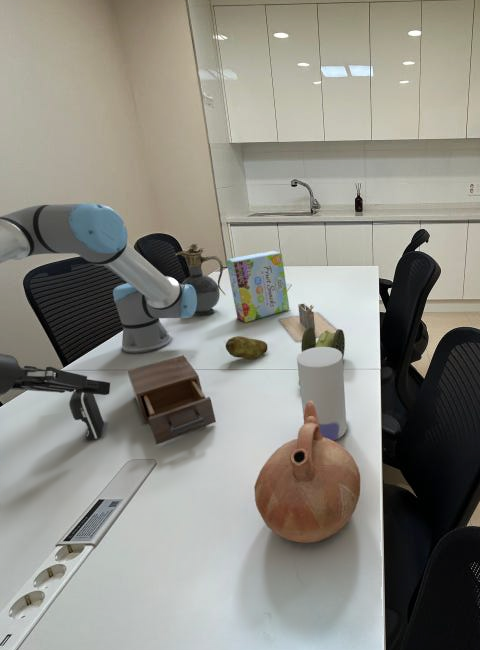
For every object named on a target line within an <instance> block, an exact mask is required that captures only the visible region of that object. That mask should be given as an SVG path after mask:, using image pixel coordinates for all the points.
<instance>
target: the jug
mask: <svg viewBox="0 0 480 650" xmlns="http://www.w3.org/2000/svg"><path fill="white" fill-rule="evenodd" d="M255 480H256V481H255V484H254V486H253V487H254V490H253V491H254V501H255V506H256V509H257V511H258V513H259V515H260V517H261V518H262V521H263V522H264V524H265V526H267V527H268V528H269V530H270V531H271V532H273V534H275V535H278V536H279V537H281V538H283V539H285V540H287V541H292V542H296V543H300V544H303V543H304V544H315V543H318V542H319V543H320V542H322V541H324V540H326V539H329V538H330V537H332V536H333V535H335V534H336V533H338V532H339V531H340V530H342V529H343V528H344V527H345V526H346V524H347V523H348V522H349V521H350V520H351V518H352V516H353V515H354V513H355V511H356V508H357V507H358V502H359V499H360V494H361V474H360V469H359V467H358V465H357V463H356V461H355V458H354V457H353V456H352V454H351V453H349V451H348V450H347V449H346V448H345V447H344V446H342V445H341V444H339V443H338V442H336V441H335V440H334V441H332V440H330V439H327V438H324V437H322V435H321V433H320V426H319V422H318V418H317V413H316V410H315V406H314V403H313V401H308V402H307V404H306V407H305V412H304V417H303V425H302V426H300V428H299V429H298V434H297V438H295V439H292V440H290V441H288V442H285V443H284V444H282V445H281V446H280V447H278V448H277V449H276V450H275V451H274V452H273V453H272V454H271V455H270V456H269V457H268V458H267V460H266V462H265V463H264V464H263V466H262V468H261V469H260V471H259V474H258V476H257V478H256V479H255Z"/></svg>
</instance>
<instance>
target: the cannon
mask: <svg viewBox="0 0 480 650" xmlns="http://www.w3.org/2000/svg"><path fill="white" fill-rule="evenodd" d="M345 337H346V336H345V333H344V330H343V329H340V328H338V329H336V332H335V333H334V334H333V333H332V332H329V331H328V330H326V331H325V332H323V333H322V334H321V335H320V337H318V339H317V337H316V335H315V332H314V329H313V328H306V330H305V331H304V334H303V337H302V340H301V349H300V350H301V353H302V352H303V351H305V350H308V349H311V348H316V347H331V348H335V349H337V350H339V351H340V352H341V353H342V358H343V359H344V355H345V348H346V340H345V339H346V338H345ZM298 386H299V387H300V382H299V381H298Z"/></svg>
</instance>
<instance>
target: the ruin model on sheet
mask: <svg viewBox="0 0 480 650" xmlns="http://www.w3.org/2000/svg"><path fill="white" fill-rule="evenodd" d="M297 307H298V316H293V317H288V318H283V319H279V322H281V324H282V325H283V327H285V329H286V330H287V331H288V332H289V334H290V335H291V336H292V338H293V339H294V340H295V341H296V342H302V337H303V334H304V331H305V330H306V328H313V329H314V332H315V335H316V338H319V337H320V335H321V334H322V333H323V332H325V331H326V330H328V331H329V332H332V333H333V334H334V335H335V332H336V331H337V329H335V328H334V327H333V326H332V325H331V324H330V323H328V322H327V321H326V320H325V319H324V318H323V317H322V316H320V315H319V314H318V313H317V312H315V313H314V311H312V310H313V309H314V308H315V306H313V304H311V305H310V306H308V305H307V304H305V303H298V306H297Z"/></svg>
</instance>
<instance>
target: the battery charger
mask: <svg viewBox="0 0 480 650" xmlns="http://www.w3.org/2000/svg"><path fill="white" fill-rule="evenodd" d="M68 405H69V409H70V412H71V414H72V418H73V419H74V421H81V422H83V423H85V424H86V425H85V426H86V427H87V430H86V434H85V439H86V440H87V441H90V440H95V439H96V440H97V439H99V438H101V437H102V432H103V429H104V424H105V422H104V419H103V417H102V414H101V411H100V408H99V405H98V403H97V400H96V397H95V394H90V393H77V392H76V390H74V391H73V392H72V394H71V397H70V399H69V403H68Z"/></svg>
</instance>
